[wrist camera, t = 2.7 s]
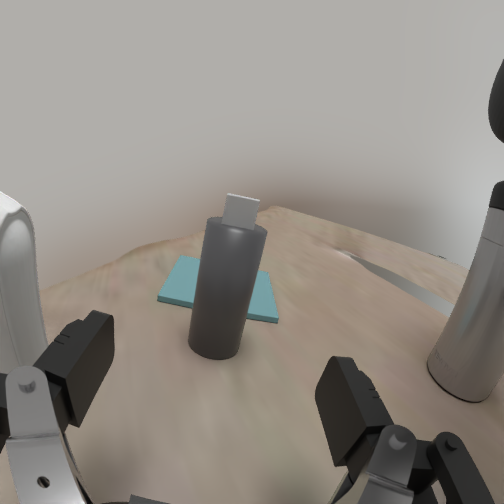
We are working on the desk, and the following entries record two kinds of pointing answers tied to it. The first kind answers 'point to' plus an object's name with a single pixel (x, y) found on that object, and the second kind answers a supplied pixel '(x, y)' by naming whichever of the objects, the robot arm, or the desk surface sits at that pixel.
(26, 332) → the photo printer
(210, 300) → the grey capped bottle
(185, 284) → the teal mat
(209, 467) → the desk surface
